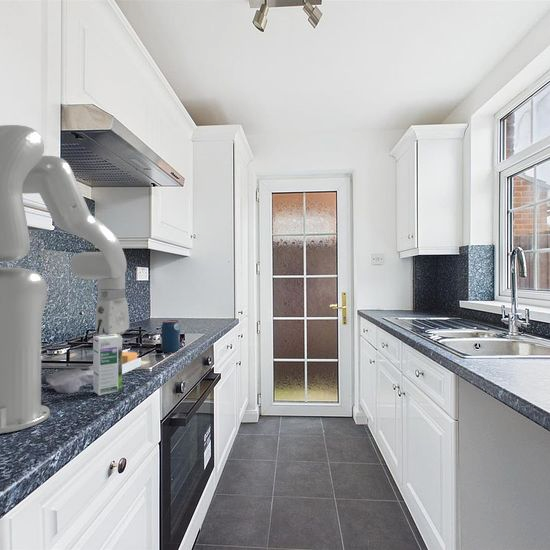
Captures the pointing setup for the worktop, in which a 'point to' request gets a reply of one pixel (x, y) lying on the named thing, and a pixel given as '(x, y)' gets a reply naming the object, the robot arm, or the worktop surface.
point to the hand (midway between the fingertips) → (112, 355)
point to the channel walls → (127, 365)
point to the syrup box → (107, 363)
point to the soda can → (170, 336)
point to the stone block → (70, 380)
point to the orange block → (128, 357)
